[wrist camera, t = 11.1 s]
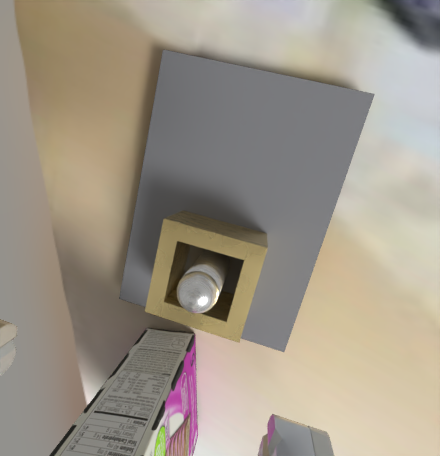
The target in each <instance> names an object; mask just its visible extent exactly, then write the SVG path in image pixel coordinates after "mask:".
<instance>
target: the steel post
mask: <svg viewBox="0 0 440 456" xmlns="http://www.w3.org/2000/svg"><path fill="white" fill-rule="evenodd" d="M230 264H231V261H230V257H229V256H228V255H224V254H221V253H218V252H214V251H211V250H207V249H205V250H204V251H203V252H202V254H201V255H200V256H199V257H198V258H197V260H196V261H195V262H194V263H193V265H192V266H191V267H190V268H189V270H188V271H187V272H186V273H185V274H184V276H183V277H182V278H181V280H180V281H179V283H178V286H177V298H178V301H179V303H180V304H181V306H182V307H183V308H184V309H186V310H187V311H189V312H191V313H204V312H206V311H208V310H210V309H211V308H212V307H213V306H214V305H215V304H216V302H217V300H218V298H219V295H220V292H221V290H222V287H223V284H224V282H225V279H226V276H227V274H228V271H229V268H230Z"/></svg>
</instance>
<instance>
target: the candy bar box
mask: <svg viewBox="0 0 440 456" xmlns="http://www.w3.org/2000/svg"><path fill="white" fill-rule="evenodd" d="M197 437H198V426H197V394H196V347H195V333H190V332H177V331H166V330H159V329H149V328H148V329H146V330H145V331H144V333H143V334H142V335H141V337H140V338H139V339H138V340H137V342H136V343H135V344H134V346H133V347H132V348H131V349H130V351H129V352H128V353H127V355H126V356H125V358H124V359H123V360H122V361H121V363H120V364H119V365H118V367H117V368H116V369H115V371H114V372H113V373H112V375H111V376H110V377H109V379H108V380H107V381H106V382H105V384H104V385H103V386H102V387H101V389H100V390H99V391H98V393H97V394H96V396H95V397H94V398H93V400H92V401H91V402H90V403H89V404H88V405H87V407H86V408H85V409H84V411H83V413H82V414H81V415H80V416H79V418H78V419H77V420H76V422H75V423H74V424H73V425H72V427H71V428H70V430H69V431H68V432H67V434H66V435H65V436H64V438H63V439H62V440H61V441H60V443H59V444H58V445H57V447H56V448H55V449H54V450H53V452H52V453H51V454H50V456H193V453H194V449H195V445H196V441H197Z"/></svg>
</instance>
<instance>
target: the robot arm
mask: <svg viewBox="0 0 440 456" xmlns="http://www.w3.org/2000/svg"><path fill="white" fill-rule="evenodd" d="M16 336H17V326H15V325H14V324H12V323H9V322H6V321H4V320H1V319H0V376H1V375H2V374H3V373H4V372H5V371H6V370H7V369H8V367H9V366H10V365H11V364H12V362H13V359H14V357H15V354H16V347H15V345H14V343H13V341H12V340H13V339H14V338H15V337H16ZM258 456H334V453H333V449H332V445H331V441H330V437H329V435H328V434H327V432H325V431H322V430H319V429H316V428H313V427H310V426H307V425H304V424H301V423H298V422H295V421H292V420H289V419H286V418H283V417H280V416H277V415H274V414H272V416H271V417H270V419H269V422H268V434H266V435H265V436H263V438H262V441H261V444H260V448H259V453H258Z"/></svg>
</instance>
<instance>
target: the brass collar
mask: <svg viewBox="0 0 440 456" xmlns="http://www.w3.org/2000/svg"><path fill="white" fill-rule="evenodd" d="M190 245H194V246H197V247H200V248H204V249H207V250H211V251H214V252H218V253H221V254H224V255H228V256H231V257H235V258H238V259H242V260H243V264H242V267H241V271H240V274H239V278H238V281H237V285H236V288H235V292H234V294H230V293H227V292H224V291H221V292H220V295H219V298H218V300H217V302H216V304H215V305H214V306H213V307H212V308H211V309H210V310H208V311H206V312H204V313H191V312H189V311H187V310H186V309H184V308H183V307H182V306H181V304H180V303H179V301H178V298H177V286H178V283H179V281H180V280H181V278H182V277H183V274H184V269H185V265H186V261H187V257H188V252H189V248H190ZM267 249H268V242H267V234H266V233H263V232H259V231H256V230H252V229H249V228H245V227H241V226H238V225H234V224H231V223H227V222H223V221H220V220H216V219H213V218H209V217H205V216H202V215H198V214H195V213H191V212H187V211H184V210H183V211H181V212H178V213H176V214H173V215H171V216H169V217H166V218H164V220H163V224H162V229H161V234H160V239H159V244H158V249H157V254H156V259H155V264H154V269H153V274H152V279H151V283H150V288H149V293H148V298H147V303H146V308H145V312H147V313H150V314H153V315H156V316H159V317H162V318H165V319H168V320H171V321H174V322H177V323H180V324H184V325H187V326H190V327H193V328H196V329H199V330H202V331H205V332H208V333H211V334H214V335H217V336H220V337H223V338H226V339H229V340H233V341H236V342H240V338H241V335H242V332H243V329H244V325H245V322H246V319H247V315H248V312H249V309H250V305H251V302H252V299H253V295H254V292H255V289H256V286H257V282H258V279H259V276H260V272H261V269H262V266H263V262H264V259H265V256H266V253H267Z"/></svg>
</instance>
